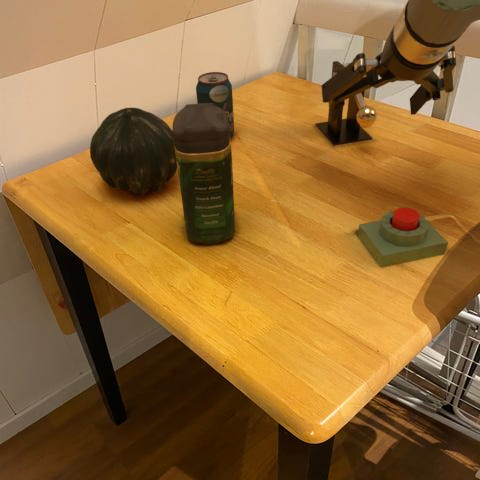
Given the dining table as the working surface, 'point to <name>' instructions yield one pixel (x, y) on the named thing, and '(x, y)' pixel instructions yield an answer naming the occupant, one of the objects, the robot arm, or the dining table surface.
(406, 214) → the button
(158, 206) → the dining table surface
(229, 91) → the soda can
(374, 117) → the switch lever
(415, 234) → the panel
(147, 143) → the squash
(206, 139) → the coffee jar
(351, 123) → the switch bracket
